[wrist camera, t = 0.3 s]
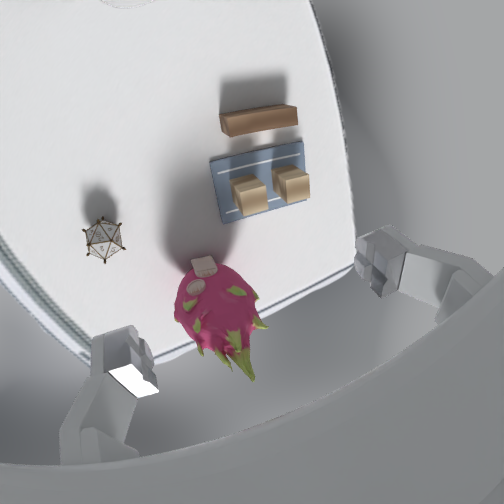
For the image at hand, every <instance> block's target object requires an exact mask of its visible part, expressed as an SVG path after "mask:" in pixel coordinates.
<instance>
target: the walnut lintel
mask: <svg viewBox="0 0 504 504" xmlns="http://www.w3.org/2000/svg"><path fill="white" fill-rule="evenodd" d="M219 117H220V123H221V129H222V132H223V133H224V134H226V135H228V136H229V137H234V136H238V135H243V134H248V133H253V132H258V131H264V130H269V129H275V128H281V127H288V126H294V125H298V118H297V107H294V106H290V105H285V104H279V105H272V106H265V107H258V108H252V109H246V110H240V111H235V112H230V113H225V114H220V115H219Z"/></svg>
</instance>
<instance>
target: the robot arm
mask: <svg viewBox="0 0 504 504" xmlns="http://www.w3.org/2000/svg"><path fill="white" fill-rule="evenodd" d="M102 1H103V2H104V3H106V4H108V5H110V6H113V7H118V8H132V7H138V6H142V5H145V4H147V3H150V2H152V1H154V0H102ZM355 248H356V249H357V250H358V252H357V254H356V255H355V257H354V265H355V268H356V271H357V273H358V275H359V276H360V277H361V278H362V279H363V280H364V281H368V282H370V288H371V289H372V290H373V291H374V292H375V293H376V294H377V295H378V296H379V297H380V298H383V297H385V296H387V295H389V294H391V293H393V292H395V291H397V290H398V291H399V292H402V293H404V294H406V295H409V296H411V297H413V298H415V299H418V300H420V301H422V302H425V303H427V304H429V305H431V306H434V307H436V308H438V309H439V310H438V312H437V314H436V316H435V322H436V323H437V324H438V326H436V327H435V328H434V329H432V330H431V331H430V332H428V333H427V334H426V335H424V336H423V337H422V338H420V339H419V340H417V341H416V342H415V343H413V344H412V345H410V346H409V347H407V348H406V349H405V350H403V351H401V352H400V353H398V354H397V355H395V356H394V357H392V358H390V359H389V360H387V361H386V362H384V363H382V364H381V365H379V366H378V367H376V368H374V369H373V370H371V371H369V372H368V373H366V374H364V375H362V376H361V377H359V378H357V379H355V380H354V381H352V382H350V383H348V384H346V385H344V386H343V387H341V388H339V389H337V390H335V391H333V392H331V393H329V394H327V395H325V396H323V397H321V398H319V399H317V400H315V401H313V402H311V403H308V404H306V405H304V406H302V407H300V408H298V409H295V410H293V411H291V412H288V413H286V414H284V415H281V416H279V417H276V418H274V419H272V420H269V421H266V422H264V423H262V424H259V425H256V426H253V427H251V428H248V429H245V430H242V431H239V432H237V433H233V434H230V435H228V436H225V437H221V438H218V439H215V440H211V441H208V442H204V443H201V444H197V445H194V446H190V447H186V448H182V449H178V450H174V451H170V452H165V453H160V454H155V455H150V456H145V457H139V453H138V451H137V450H135V449H134V448H131V447H129V446H127V445H125V444H124V441H125V437H126V434H127V431H128V427H129V424H130V421H131V418H132V415H133V412H134V409H135V406H136V403H137V400H138V399H137V398H139V397H142V396H145V395H148V394H152V393H155V392H158V385H157V379H156V375H155V374H154V373H153V371H152V368H153V366H154V360H153V356H152V353H151V350H150V348H149V346H148V344H147V343H146V341H145V340H144V339H142V338H139V337H138V331H137V330H136V328H135V327H134V326H133V325H129V326H126V327H123V328H120V329H116V330H113V331H110V332H107V333H105V334H101V335H98V336H95V337H93V339H92V344H91V369H90V377H88V378H87V379H86V380H85V382H84V384H83V386H82V388H81V390H80V392H79V393H78V395H77V397H76V399H75V401H74V403H73V405H72V407H71V409H70V410H69V412H68V414H67V416H66V418H65V420H64V422H63V424H62V426H61V428H60V430H59V440H60V459H61V465H54V466H42V465H40V466H39V465H37V466H36V465H17V464H6V463H0V504H504V267H503V268H502V269H501V270H500V271H499V273H497V275H495V276H493V275H492V274H490V273H489V272H488V271H487V270H486V269H485V268H483V267H482V266H481V265H480V264H479V263H477V262H476V261H475V260H474V259H473V258H470V257H466V256H463V255H459V254H455V253H452V252H448V251H444V250H441V249H437V248H433V247H429V246H425V245H419V246H418V245H417V244H416V243H414V242H413V241H412V240H411V239H409V238H408V237H407V236H405V235H404V234H403V233H401V232H400V231H399V230H397V229H396V228H395V227H393V226H392V225H386V226H384V227H382V228H380V229H378V230H375V231H373V232H370V233H368V234H366V235H363V236H361V237H359V238H357V240H356V242H355Z"/></svg>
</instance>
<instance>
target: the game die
mask: <svg viewBox="0 0 504 504" xmlns="http://www.w3.org/2000/svg"><path fill="white" fill-rule="evenodd" d="M97 222H98V223H97V224H95V225H94V226H92V227H91V228H89V229H87V230H85V229H82V231H83V232H85V233H86V239H87V245H86V246H88V251H89V253H87V255H86V256H89V254H92V255H94V256H97V257H99V258H101V259H104V263H105V264H106V259H107V258H109V257H110V256H112V255H113V254H114V253H116V252H117V251H119V250H120V249H123V250H126V248H125V247H122V242H121V235H120V228H119V226H121V225H122V223H119V225H117V224H114V223H111V222H107V221H104V217H102V221H100V220H99V219H97Z"/></svg>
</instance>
